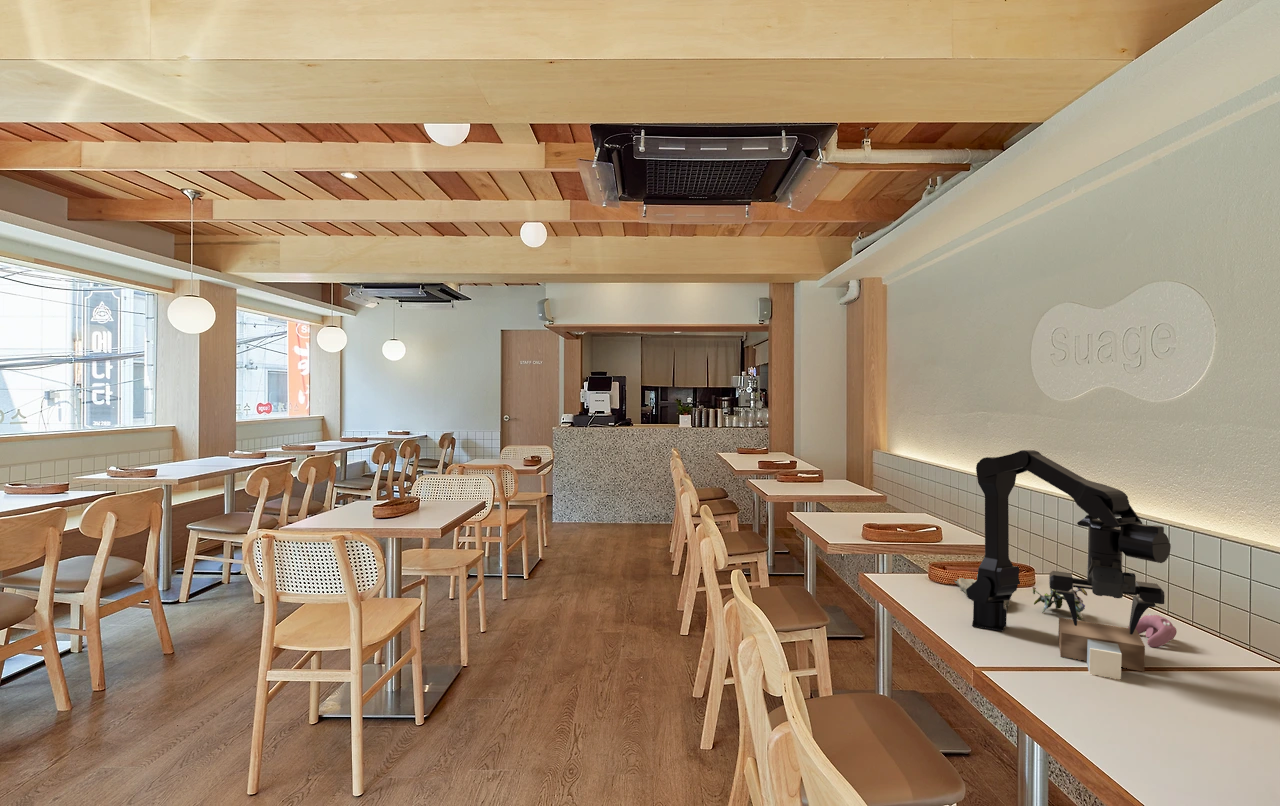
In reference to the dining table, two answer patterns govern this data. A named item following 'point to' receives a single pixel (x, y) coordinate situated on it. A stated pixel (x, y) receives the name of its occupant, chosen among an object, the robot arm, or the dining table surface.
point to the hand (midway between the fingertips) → (1102, 629)
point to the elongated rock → (968, 582)
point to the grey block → (1104, 659)
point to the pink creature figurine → (1156, 629)
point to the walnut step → (1077, 639)
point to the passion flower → (1058, 600)
